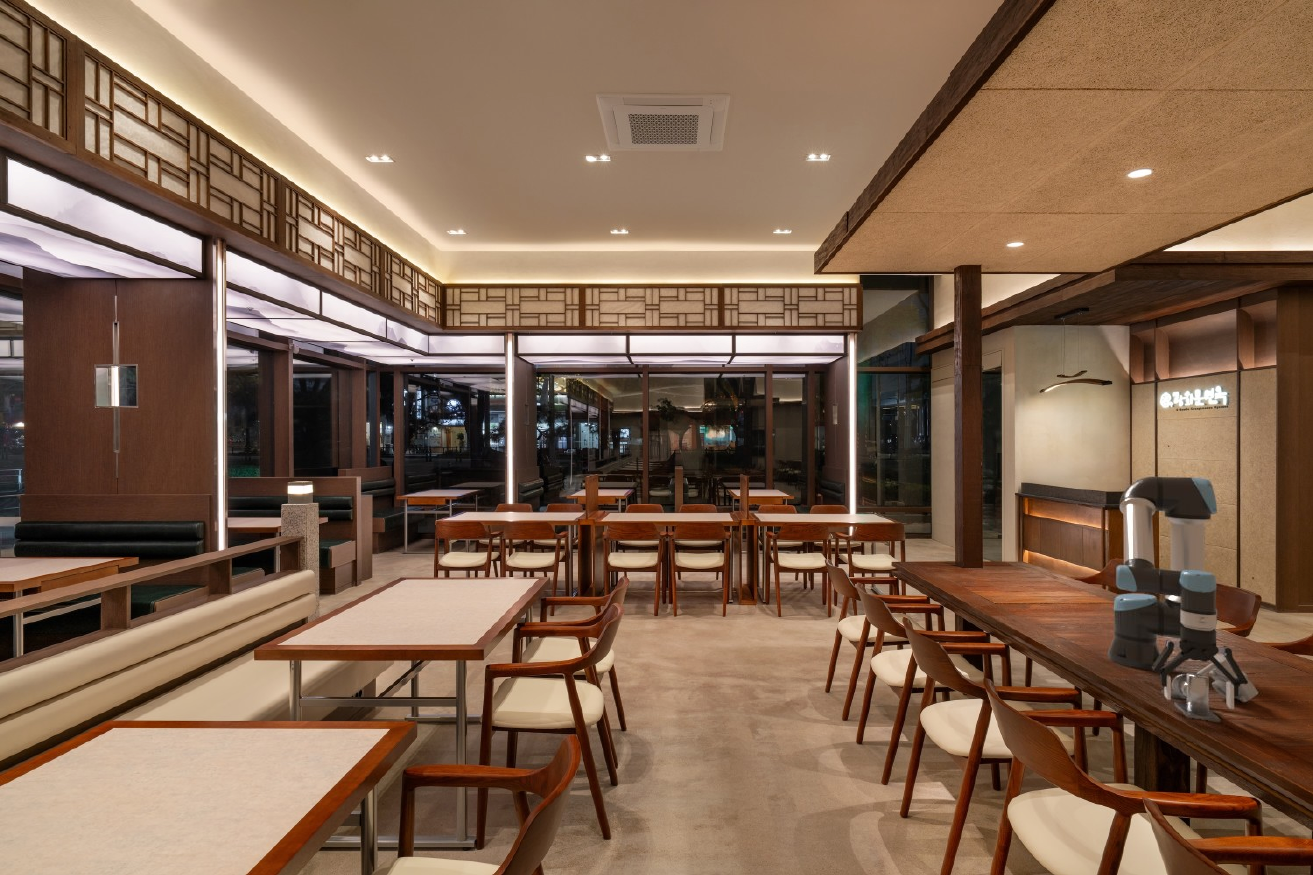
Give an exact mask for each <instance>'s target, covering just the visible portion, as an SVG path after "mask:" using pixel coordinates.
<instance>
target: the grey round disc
mask: <svg viewBox="0 0 1313 875" xmlns="http://www.w3.org/2000/svg"><path fill="white" fill-rule="evenodd" d="M1160 691H1161V695H1162V696H1164V689H1161V690H1160ZM1171 699H1173V700H1174V699H1175V700H1182V701H1183V700H1185V699H1184V698H1182V697H1180V696H1179V695H1177V694H1176V693H1175V692H1174V690H1173V689H1171Z"/></svg>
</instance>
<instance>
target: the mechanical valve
mask: <svg viewBox="0 0 1313 875" xmlns="http://www.w3.org/2000/svg"><path fill="white" fill-rule="evenodd" d="M1214 657H1215V658H1216V659H1217V660H1218V661H1219V663H1220V664H1221V665H1222V666H1223V667H1224V668H1225V669H1226V670H1227V671H1228V672H1229V673H1230V674H1231V675H1232V676H1233V677H1234V678H1237V676H1236V674H1235V673H1234V671H1233V669H1232V668H1231V666H1230V664H1229V663H1228V661H1227V659H1226V658H1225V656H1224V655H1222V654H1221V653H1220V654H1218V653H1217V654H1216V655H1215V656H1214ZM1197 673H1198V674H1202V675H1205V676H1207V675H1208V674H1209V675H1210V676H1211V678H1212V679H1213V680H1214V681H1213V682H1212V683H1211V685H1212V687H1213V689H1214V691H1216V692H1217V693H1218V694H1219V695H1220V696H1222V697H1224V698H1226V682H1230V683H1231V681H1230V680H1229V679H1228V678H1227V677H1226V676H1225V675H1224V674H1223V673H1222V672H1221V671H1220V670H1219V669H1218V668H1217V667H1216V666H1215V665H1214V664H1213V663H1212V662H1211V663H1209V664H1208V665H1207V666H1205V667H1204V668H1202V669H1201V670H1199V671H1198V672H1197ZM1242 673H1243V675H1244V676H1245V678H1246V679H1247V681H1248V684H1240V686H1239V695H1238V697H1235V696H1234V699H1237V700H1239V701H1241V702H1242V703H1246V702H1248V701H1250V700H1252V699H1253V698H1254V697H1256V696H1257V695H1258V694H1259V691H1258V690H1257V688H1256V687H1255V685H1254V684H1253V683H1252V682H1251V681H1250V680H1249V676H1248V674H1247V673H1245V671H1242Z"/></svg>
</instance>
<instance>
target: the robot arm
mask: <svg viewBox="0 0 1313 875" xmlns="http://www.w3.org/2000/svg"><path fill="white" fill-rule="evenodd" d="M1217 507H1218V506H1217V499H1216V494H1215V490H1214V487H1213V483H1212V482H1211V481H1210V480H1209V479H1207V478H1200V477H1192V476H1191V477H1189V476H1188V477H1187V476H1186V477H1184V476H1183V477H1182V476H1181V477H1180V476H1176V477H1175V476H1161V477H1160V476H1147V477H1142V478H1139V479H1138V480H1136V481H1135V482H1132V483H1131V484H1130V485H1129V486H1128V487H1126V489H1125V490H1124V492H1122V495H1121V497H1120V499H1119V511H1120V512H1121V513H1122V514H1123V518H1122V519H1123V565H1122V564H1120V565H1119V564H1118V565H1117V566H1116V575H1115V576H1116V578H1115V579H1116V580H1115V581H1116V582H1115V583H1116V587H1117V588H1118V589H1119V590H1124V591H1129V592H1134V593H1123V594H1122V593H1121V594H1119V595H1117V596H1115V598H1114V601H1113V602H1114V607H1113V611H1114V616H1113V617H1114V619H1113V620H1114V621H1113V622H1114V624H1113V625H1114V626H1113V627H1114V628H1113V629H1114V630H1113V639H1112V640H1111V643H1110V645H1109V648H1108V652H1107V657H1108V659H1109V660H1110V661H1111V662H1113V663H1116V664H1118V665H1121V666H1125V667H1128V668H1134V669H1138V670H1147V671H1148V670H1149V671H1150V670H1151V671H1154V673H1157V674H1159V683H1160V685H1161V686H1162V687H1164V695H1163V696H1164V698H1166V700H1168V701H1171V700H1172V698H1171V690H1172V677H1171V676H1170V675H1169V674H1171V673H1172V672H1173V671H1174V670H1175V669H1176V668H1178V667H1179V666H1180V665H1182V664H1183V663H1184V662H1187V661H1188V660H1191V661H1197V662H1198V661H1200V662H1205V663H1206V662H1209V661H1210V662H1211V663H1213V664H1214V665H1215V666H1216V667H1217V668H1218V669H1219V670H1220V671H1221V672H1222V673H1223V674H1224V675H1225V676H1226V677H1227V678H1228V679H1229V680H1230V681H1231V683H1230V682H1226V701H1225V702H1226V706H1227V707H1228V708H1229V709H1230V710H1235V697H1238V695H1239V686H1240V684H1248V681H1247V679H1248V678H1247V679H1246V678H1245V676H1244V675H1243V673H1242V672H1243V671H1242V670H1241V668H1240V666H1239V665H1238V664H1237V662H1236V660H1235V658H1234V657H1233V650H1232V649H1231V648H1230V647H1228V645H1227V646H1226V645H1224V646H1222V647H1221V646H1217V630H1216V629H1217V624H1218V609H1217V588H1218V585H1217V579H1216V575H1215V574H1214V573H1212V572H1209V571H1205V569H1206V567H1205V566H1206V565H1205V562H1206V561H1205V560H1206V559H1205V558H1206V556H1205V554H1206V553H1205V551H1206V550H1205V547H1206V546H1205V544H1206V542H1205V539H1206V538H1205V532H1206V531H1205V530H1206V529H1205V525H1206V524H1207V523H1208V522H1210V521H1212V520H1211V519H1212V516H1211V515H1217V513H1218V510H1217ZM1156 511H1157V512H1164V517H1165V518H1166V519H1167V520H1168V521H1169V522H1170V569H1163V568H1156V567H1155V549H1154V547H1155V546H1154V531H1153V530H1154V529H1153V515H1155V513H1156ZM1135 592H1137V593H1135ZM1155 594H1156V595H1157V594H1158V595H1162V596H1164V601H1163V600H1158V598H1157V596H1155ZM1158 636H1159V637H1165V638H1172V639H1178V640H1179V642H1177V641H1172V640H1171V639H1165V640H1166V641H1165V647H1164V648H1163V649H1162V650H1160V649H1159V648H1160V647H1159V646H1158V640H1157V638H1158ZM1177 648H1179V649H1180V650H1181V651H1180V652H1178V653H1177V655H1176V656H1174V657H1173V658H1172V659H1171V660H1170V661H1168V660H1169V658H1170V656H1172V653H1173V652H1174V650H1177ZM1219 652H1220V654H1222V655H1224V656H1225V658H1226V659H1227V661H1228V663H1229V664H1230V666H1231V668H1232V669H1233V671H1234V673H1235V674H1236V676H1237V678H1234V677H1233V676H1232V675H1231V674H1230V673H1229V672H1228V671H1227V670H1226V669H1225V668H1224V667H1223V666H1222V665H1221V664H1220V663H1219V661H1218V660H1217V659H1216V658H1215V657H1214V656H1215V655H1216V654H1218V653H1219ZM1167 661H1168V662H1167ZM1166 662H1167V663H1166ZM1234 696H1235V697H1234Z"/></svg>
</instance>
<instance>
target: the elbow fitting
mask: <svg viewBox="0 0 1313 875" xmlns="http://www.w3.org/2000/svg"><path fill="white" fill-rule="evenodd" d="M1171 689H1172V690H1174V692H1175V693H1176V694H1177V695H1179V696H1180V697H1182V698H1184V700H1186V702H1181V701H1174V704H1173V705H1174V707H1176V708H1177V709H1178V710H1179V711H1180V710H1181V711H1182V712H1183V713H1182V712H1181V711H1180V712H1181V713H1182V714H1183V715H1184V716H1185V717H1186V718H1187V719H1192V718H1194V719H1193V720H1199V719H1201V720H1200V721H1206V720H1208V721H1209V722H1212V723H1213V722H1214V723H1221V718H1220V717H1218V716H1217V715H1216V714H1215V713H1214V712H1213V711H1212V710H1211V709H1210V708H1209V691H1210V690H1209V676H1207V675H1202V674H1198V672H1187V673H1181V674H1177V675H1175V676H1174V677H1173V678H1172V679H1171Z"/></svg>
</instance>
